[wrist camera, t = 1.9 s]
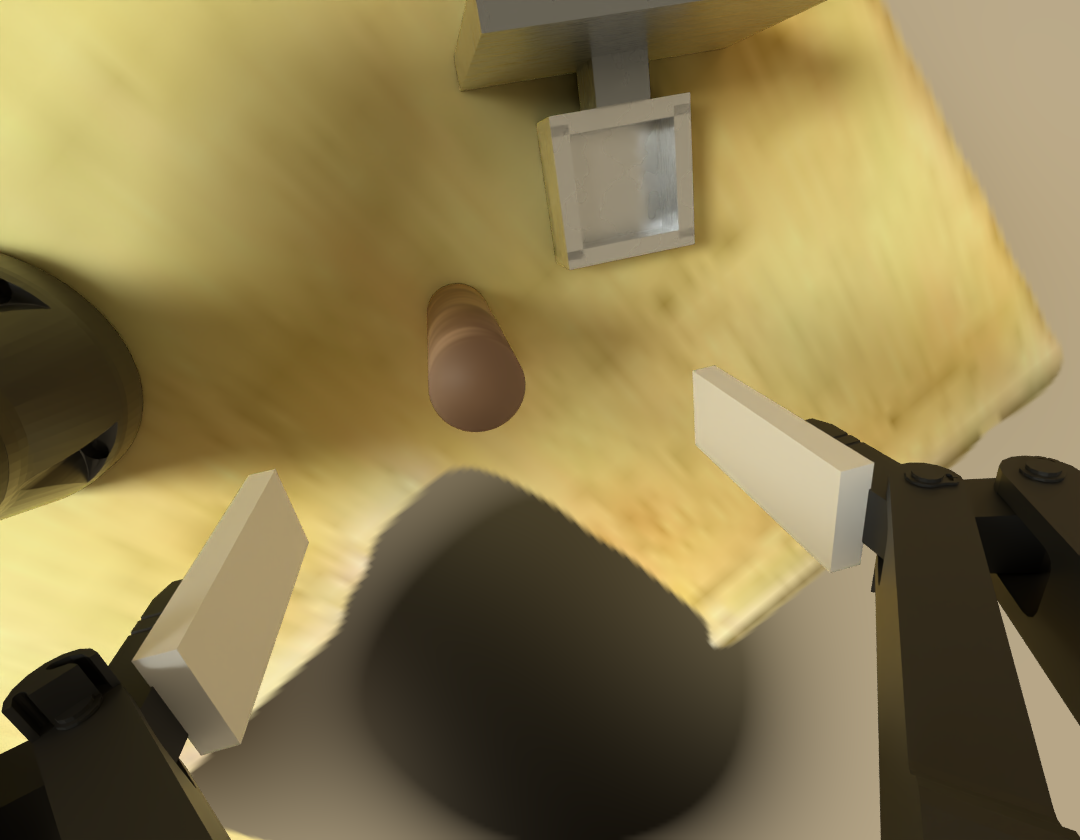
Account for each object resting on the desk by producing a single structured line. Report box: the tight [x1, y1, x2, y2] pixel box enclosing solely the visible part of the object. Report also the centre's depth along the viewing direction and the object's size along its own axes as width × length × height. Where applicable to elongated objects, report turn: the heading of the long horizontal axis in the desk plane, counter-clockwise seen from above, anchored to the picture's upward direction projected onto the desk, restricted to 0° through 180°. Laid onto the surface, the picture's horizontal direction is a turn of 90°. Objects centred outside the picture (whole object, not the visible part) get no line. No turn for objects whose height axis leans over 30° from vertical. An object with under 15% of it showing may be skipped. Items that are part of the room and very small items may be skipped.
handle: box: [427, 283, 525, 432], centre depth 28 cm, size 4×4×14 cm
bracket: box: [454, 0, 827, 270], centre depth 26 cm, size 16×12×12 cm
